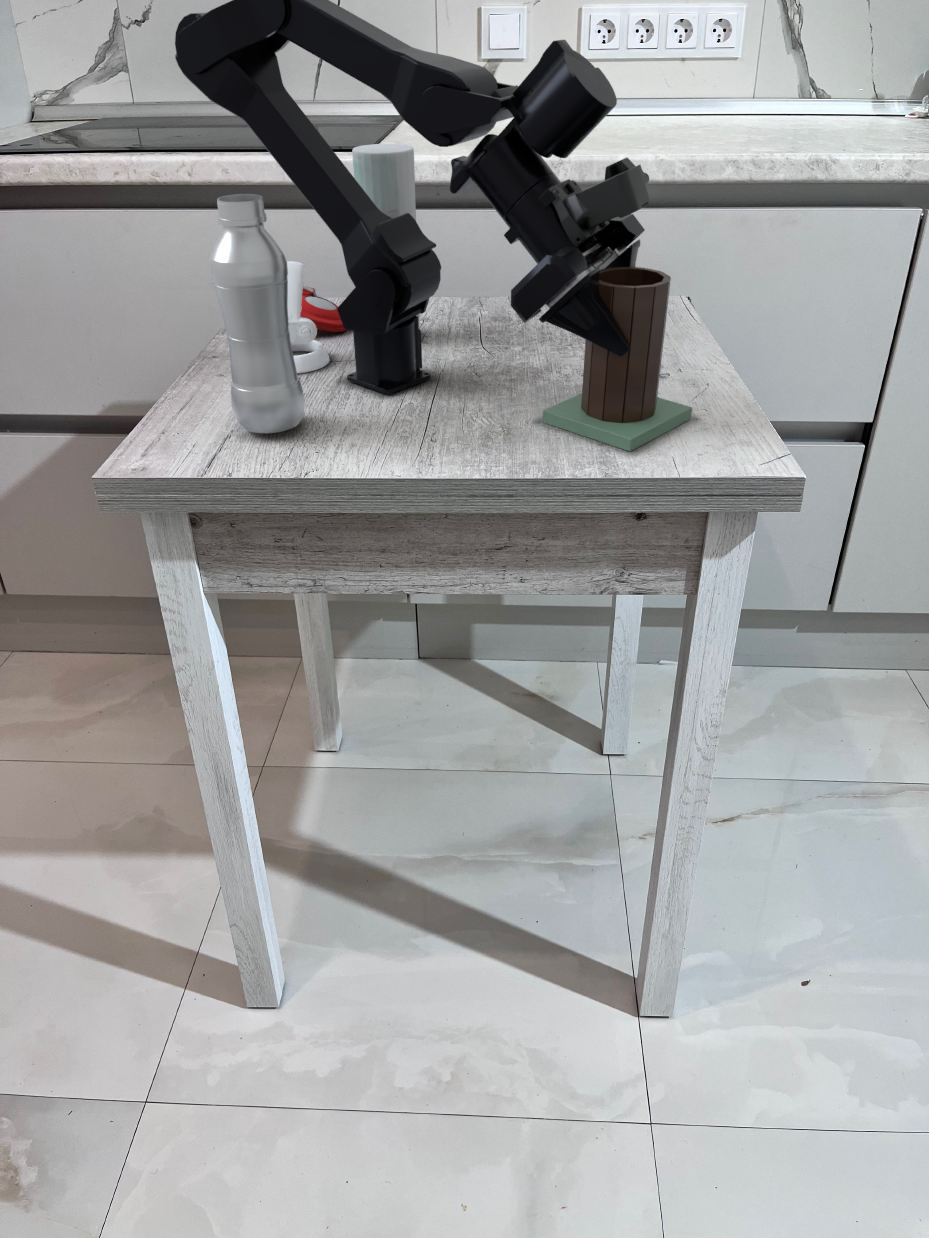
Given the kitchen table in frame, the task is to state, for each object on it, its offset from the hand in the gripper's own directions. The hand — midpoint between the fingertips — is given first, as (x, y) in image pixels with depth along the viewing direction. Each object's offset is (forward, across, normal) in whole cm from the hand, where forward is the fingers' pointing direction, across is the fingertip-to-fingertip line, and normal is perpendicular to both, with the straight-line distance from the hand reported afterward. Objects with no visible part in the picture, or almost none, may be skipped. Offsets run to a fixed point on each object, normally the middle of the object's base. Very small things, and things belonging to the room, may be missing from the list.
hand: (639, 340), depth 83 cm
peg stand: (+4, 0, +6) cm, 8 cm away
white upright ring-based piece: (-22, 0, +33) cm, 40 cm away
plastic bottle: (-16, -16, +27) cm, 35 cm away
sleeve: (+4, 0, +6) cm, 7 cm away
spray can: (-18, +12, +29) cm, 36 cm away
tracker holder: (-26, +13, +37) cm, 47 cm away
